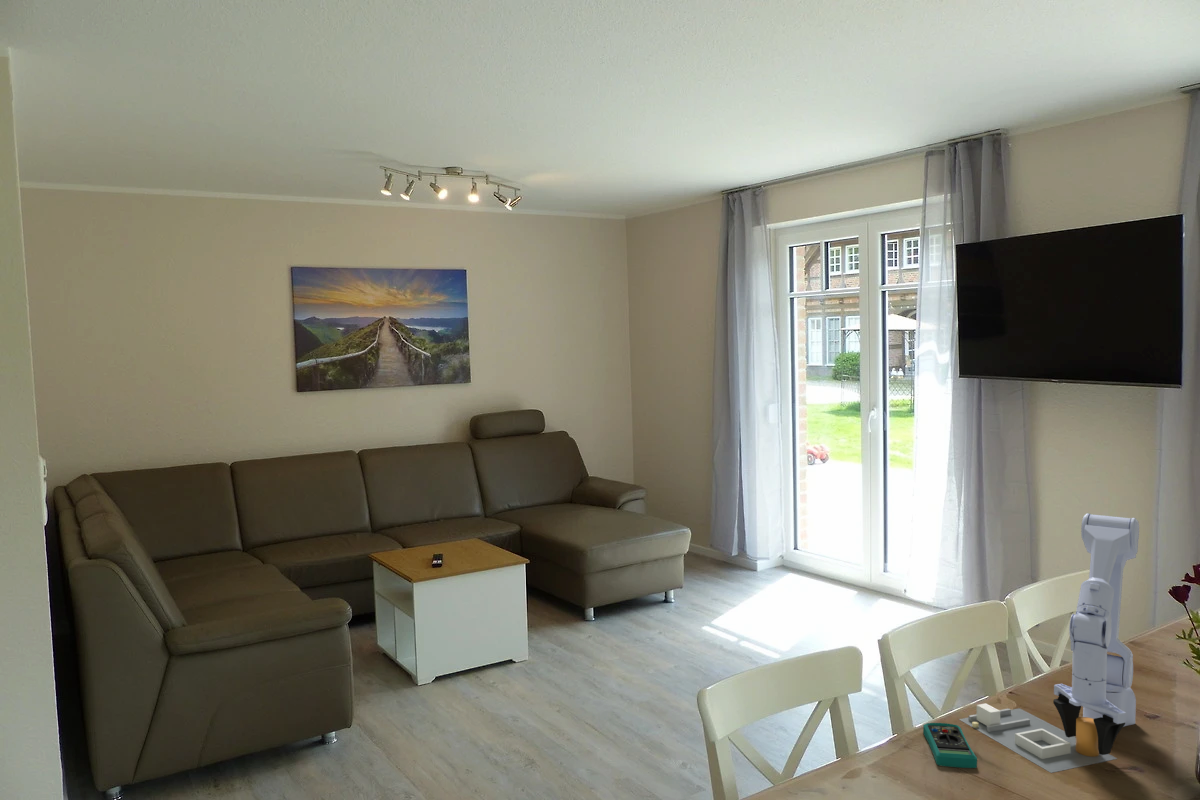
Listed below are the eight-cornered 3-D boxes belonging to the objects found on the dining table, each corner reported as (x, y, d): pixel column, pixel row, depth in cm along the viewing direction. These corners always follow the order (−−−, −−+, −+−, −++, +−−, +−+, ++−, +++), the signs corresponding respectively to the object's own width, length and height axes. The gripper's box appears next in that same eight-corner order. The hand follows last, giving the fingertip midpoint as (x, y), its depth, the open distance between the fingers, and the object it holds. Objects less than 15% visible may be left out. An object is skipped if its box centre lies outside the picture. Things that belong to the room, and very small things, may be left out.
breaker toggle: (985, 718, 181) (985, 703, 180) (1000, 726, 177) (1000, 710, 177) (976, 719, 180) (976, 704, 180) (990, 727, 176) (990, 712, 176)
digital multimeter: (959, 736, 177) (959, 722, 177) (978, 771, 162) (978, 756, 162) (922, 734, 178) (922, 720, 178) (937, 768, 164) (937, 753, 164)
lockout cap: (1086, 745, 169) (1087, 715, 168) (1104, 754, 165) (1105, 724, 164) (1070, 748, 167) (1071, 718, 167) (1088, 758, 164) (1088, 727, 163)
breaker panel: (1019, 713, 186) (1019, 699, 186) (1117, 764, 163) (1117, 748, 163) (958, 724, 181) (958, 710, 181) (1051, 779, 158) (1051, 762, 158)
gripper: (1042, 665, 171) (1041, 731, 172) (1105, 693, 157) (1104, 765, 158) (1070, 660, 173) (1068, 726, 174) (1135, 687, 159) (1133, 759, 160)
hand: (1087, 744), depth 166 cm, fingers open, 7 cm apart
